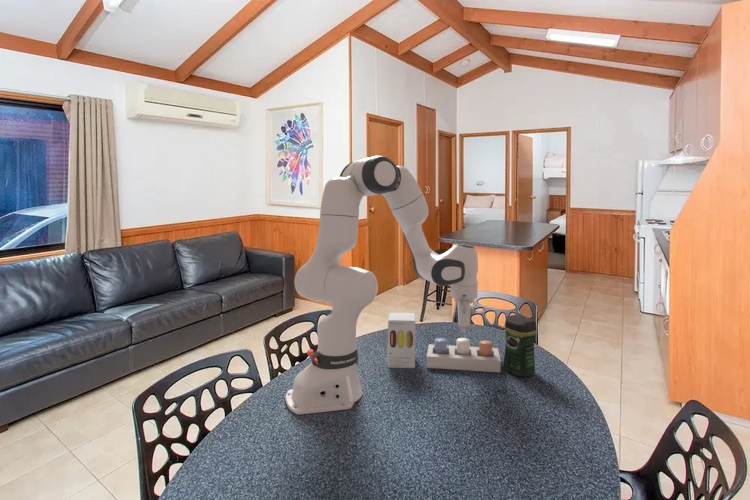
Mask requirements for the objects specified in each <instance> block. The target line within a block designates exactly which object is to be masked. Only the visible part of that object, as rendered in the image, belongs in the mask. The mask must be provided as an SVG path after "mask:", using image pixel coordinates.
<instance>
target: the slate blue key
mask: <svg viewBox="0 0 750 500" xmlns="http://www.w3.org/2000/svg"><path fill="white" fill-rule="evenodd" d="M433 345H434V351H435V353H438V354H445V353H447V345H448V339H447V338H444V337H436V338H435V339H434V344H433Z"/></svg>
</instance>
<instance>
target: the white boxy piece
mask: <svg viewBox="0 0 750 500" xmlns="http://www.w3.org/2000/svg"><path fill="white" fill-rule="evenodd" d="M456 350H457V345H451V344H449V345H448V344H447V353H445V354H438V353H435V351H434V344H432V343H431V344H428V348H427V353H426V368H427V369H443V370H459V371H460V370H461V371H474V372H486V373H487V372H489V373H501V362H502V361H501V357H500V351H499V348H498V347H492V356H489V357H485V356H481V355H479V346H470V352H469V353H467V354H461V353H458V352H457V351H456Z"/></svg>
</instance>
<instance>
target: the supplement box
mask: <svg viewBox="0 0 750 500" xmlns="http://www.w3.org/2000/svg"><path fill="white" fill-rule="evenodd" d="M387 322H388V323H387V368H388V369H389V368H391V369H394V368H395V369H415V368H416V314H415V312H389V313H388V320H387Z"/></svg>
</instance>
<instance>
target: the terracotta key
mask: <svg viewBox="0 0 750 500" xmlns="http://www.w3.org/2000/svg"><path fill="white" fill-rule="evenodd" d="M493 344H494V343H493V342H492V341H491V340H484V339H483V340H479V342H478V347H479V355H481V356H485V357H489V356H492V348H493Z"/></svg>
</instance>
